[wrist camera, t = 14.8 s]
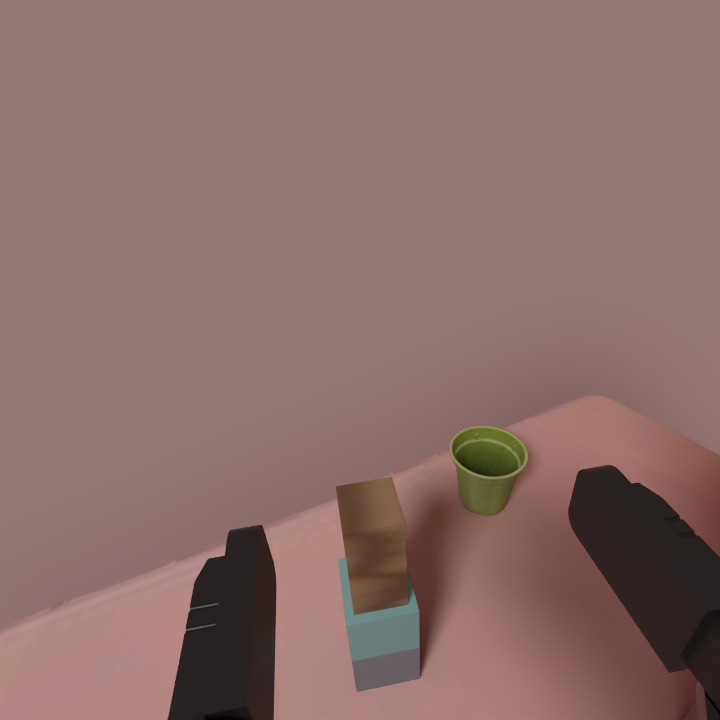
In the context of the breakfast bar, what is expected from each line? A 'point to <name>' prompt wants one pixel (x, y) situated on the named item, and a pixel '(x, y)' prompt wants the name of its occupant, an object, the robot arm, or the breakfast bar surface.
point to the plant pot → (487, 466)
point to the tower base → (387, 669)
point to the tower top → (380, 624)
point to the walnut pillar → (374, 544)
